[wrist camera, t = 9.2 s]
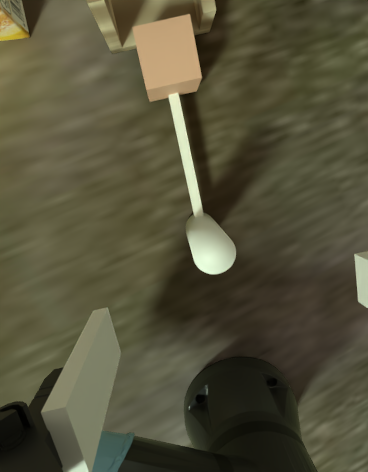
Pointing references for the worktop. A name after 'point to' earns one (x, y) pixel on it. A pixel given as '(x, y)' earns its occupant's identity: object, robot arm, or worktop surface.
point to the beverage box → (12, 20)
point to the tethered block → (182, 124)
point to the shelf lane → (146, 17)
